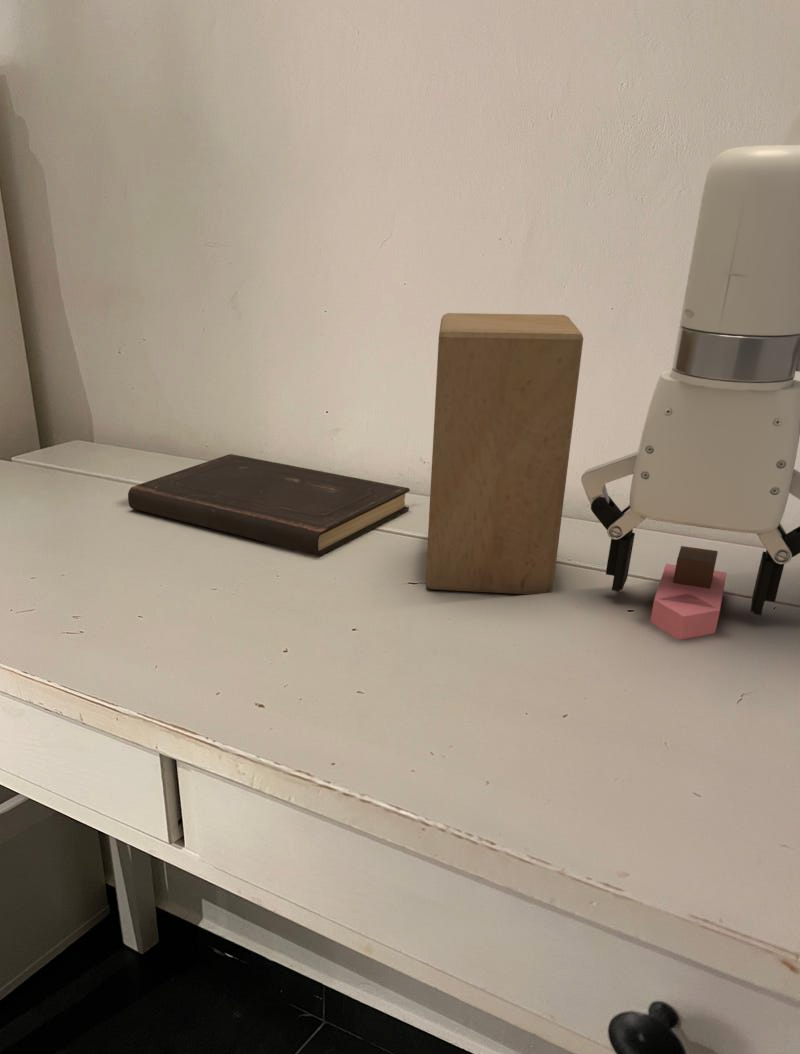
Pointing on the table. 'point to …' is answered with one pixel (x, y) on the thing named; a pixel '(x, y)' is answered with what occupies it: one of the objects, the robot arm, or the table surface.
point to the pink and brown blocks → (689, 595)
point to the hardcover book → (272, 502)
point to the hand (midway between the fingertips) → (685, 596)
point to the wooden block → (500, 450)
